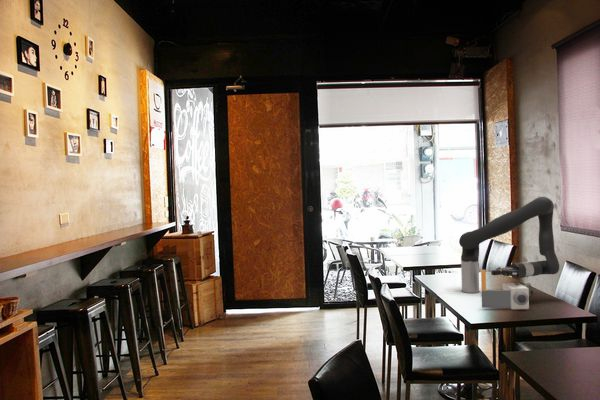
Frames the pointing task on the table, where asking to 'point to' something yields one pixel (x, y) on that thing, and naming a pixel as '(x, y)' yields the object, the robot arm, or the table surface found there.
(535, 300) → the table surface
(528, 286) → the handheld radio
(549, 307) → the table surface
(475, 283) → the robot arm
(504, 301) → the side door
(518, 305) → the camera body
